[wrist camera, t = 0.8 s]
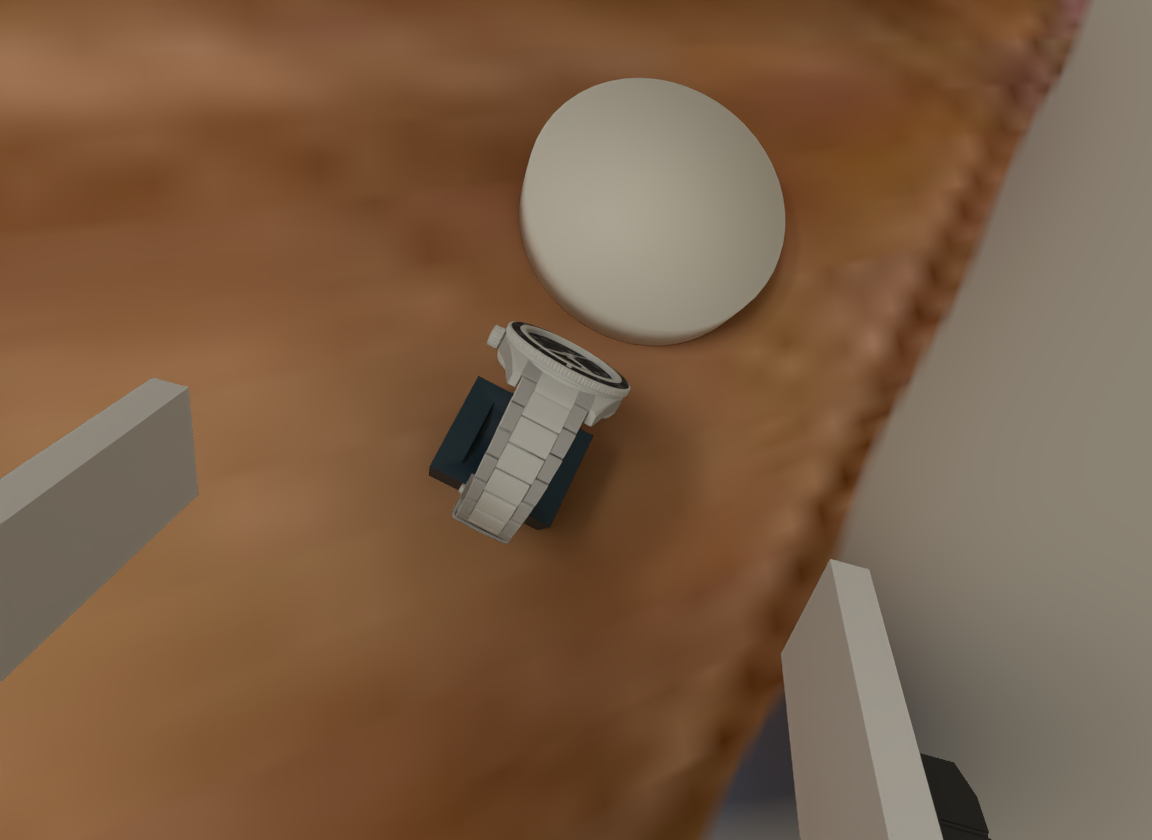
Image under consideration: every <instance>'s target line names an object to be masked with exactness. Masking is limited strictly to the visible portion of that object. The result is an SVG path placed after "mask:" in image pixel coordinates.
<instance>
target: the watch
mask: <svg viewBox="0 0 1152 840" xmlns="http://www.w3.org/2000/svg"><path fill="white" fill-rule="evenodd" d="M505 332H506V334H505ZM487 344H488V345H490V346H492V347H494V348H497V347H498V346H499V349H498V353H497V358H498V361H499V363H500V364H501V365H502V367H503V368H504V369H505V371H506V381H507V383H508V384H510V385H512V386H514V387H515V386H516V384H517V383H518V386H517V388H516V390H515V392H514V394H512V393H510V392H508V391H506V390H504V389H502V388H501V387H499V386H497V385H495V384H493V383H491V382H489V381H487V380H485V379H483V378H481V377H479V376H478V378H477V380H476V382H475V383H474V385H473V387H472V389H471V391H470V393H469V395H468V396H467V398H466V400H465V402H464V404H463V406H462V408H461V409H460V411H459V413H458V415H457V417H456V419H455V421H454V422H453V424H452V426H451V428H450V430H449V432H448V434H447V435H446V437H445V439H444V441H443V443H442V445H441V447H440V448H439V450H438V452H437V454H436V456H435V458H434V460H433V461H432V463H431V465H430V469H429V476H431V477H433V478H435V479H437V480H439V481H441V482H443V483H445V484H447V485H449V486H451V487H453V488H455V489H457V490H459V493H461V495H460V497H459V499H458V501H457V503H456V506H455V508H454V510H453V512H452V516H453V518H454V519H456V520H458V521H459V522H461V523H463V524H465V525H467V526H469V527H471V528H472V529H474V530H476V531H478V532H480V533H482V534H484V535H487V536H489V537H491V538H493V539H495V540H498V541H500V542H502V543H505V544H506V543H509V542H510V540H511V538H512V536H513V535H514V534H515V533H516V531H517V530H518V529H519V528H520V526H521V524H522V523H525V524H527V525H529V526H531V527H533V528H535V529H537V530H540V529H544V528H547V527H550V526H551V523H552V521H553V519H554V517H555V515H556V513H557V511H558V509H559V507H560V505H561V503H562V500H563V498H564V496H565V494H566V492H567V490H568V488H569V486H570V484H571V482H572V479H573V477H574V475H575V473H576V471H577V469H578V467H579V465H580V463H581V461H582V459H583V456H584V454H585V452H586V450H587V448H588V446H589V444H590V442H591V440H592V438H593V436H592V435H591V434H589V433H587V432H585V431H583V430H581V429H579V428H580V426H581V424H582V422H583V420H584V424H586V425H588V426H590V427H591V426H593V425H595V424H596V423H597V422H598V421H599V420H600V419H606V418H609V417H610V416H612V415H613V414H614V413H615V411H616V410H617V408H618V407H619V405H620V403H621V401H622V400H623V397H625V396H627V395H628V393H629V392H630V390H631V387H630V385H629V383H628V382H627V381H626V380H625V379H624V377H623V376H621V375H620V374H619V373H618V372H617V371H616V370H614V369H613V368H612V367H611V366H609V365H608V364H606V363H605V362H603V361H602V360H601V359H599V358H597V357H596V356H594V355H593V354H591V353H589V352H588V351H586V350H584V349H583V348H581V347H579V346H577V345H576V344H574V343H572V342H570V341H568V340H566V339H564V338H562V337H560V336H558V335H556V334H553V333H551V332H549V331H547V330H544V329H542V328H539V327H536V326H533V325H530V324H527V323H523V322H515V321H513V322H510V323H509V324H508V326H507V328H506V329H504V328H502V327H500V326H499V325H496V326H495V327H494V329H493V330H492V332H491V334H490V336H489V338H488V341H487ZM584 418H585V419H584Z"/></svg>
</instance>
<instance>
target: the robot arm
mask: <svg viewBox="0 0 1152 840" xmlns="http://www.w3.org/2000/svg"><path fill="white" fill-rule="evenodd" d="M197 495H198V486H197V475H196V464H195V453H194V442H193V431H192V419H191V408H190V397H189V387H186V386H182V385H178V384H174V383H171V382H167V381H163V380H159V379H156V378H151V379H150V380H148V381H147V382H145V383H144V384H142V385H141V386H139V387H138V388H136V389H135V390H133V391H132V392H130V393H129V394H127V395H126V396H124V397H123V398H121V399H120V400H118V401H117V402H115V403H114V404H112V405H111V406H109V407H108V408H106V409H105V410H103V411H102V412H100V413H99V414H97V415H96V416H94V417H93V418H91V419H90V420H88V421H87V422H85V423H84V424H82V425H81V426H79V427H77V428H76V429H74V430H73V431H71V432H70V433H68V434H67V435H65V436H64V437H62V438H61V439H59V440H58V441H56V442H55V443H53V444H52V445H50V446H49V447H47V448H46V449H44V450H43V451H41V452H40V453H38V454H37V455H35V456H34V457H32V458H31V459H29V460H28V461H26V462H25V463H23V464H22V465H20V466H19V467H17V468H16V469H14V470H13V471H11V472H10V473H8V474H7V475H5V476H4V477H2V478H1V479H0V682H1V681H2V680H3V679H5V678H6V677H7V676H8V675H9V674H10V673H11V672H12V671H13V670H14V669H15V668H16V667H17V666H18V665H19V664H20V663H21V662H22V661H24V660H25V659H26V658H27V657H28V656H29V655H30V654H31V653H32V652H33V651H34V650H35V649H36V648H37V647H38V646H39V645H40V644H41V643H42V642H44V641H45V640H46V639H47V638H48V637H49V636H50V635H51V634H52V633H53V632H54V631H55V630H56V629H57V628H58V627H59V626H60V625H61V624H62V623H64V622H65V621H66V620H67V619H68V618H69V617H70V616H71V615H72V614H73V613H74V612H75V611H76V610H77V609H78V608H79V607H80V606H81V605H82V604H84V603H85V602H86V601H87V600H88V599H89V598H90V597H91V596H92V595H93V594H94V593H95V592H96V591H97V590H98V589H99V588H100V587H101V586H103V585H104V584H105V583H106V582H107V581H108V580H109V579H110V578H111V577H112V576H113V575H114V574H115V573H116V572H117V571H118V570H119V569H120V568H121V567H123V566H124V565H125V564H126V563H127V562H128V561H129V560H130V559H131V558H132V557H133V556H134V555H135V554H136V553H137V552H138V551H139V550H140V549H141V548H143V547H144V546H145V545H146V544H147V543H148V542H149V541H150V540H151V539H152V538H153V537H154V536H155V535H156V534H157V533H158V532H159V531H160V530H162V529H163V528H164V527H165V526H166V525H167V524H168V523H169V522H170V521H171V520H172V519H173V518H174V517H175V516H176V515H177V514H178V513H179V512H180V511H182V510H183V509H184V508H185V507H186V506H187V505H188V504H189V503H190V502H191V501H192V500H193V499H194V498H195V497H196V496H197ZM781 659H782V668H783V678H784V688H785V698H786V706H787V717H788V727H789V736H790V746H791V756H792V765H793V775H794V785H795V795H796V804H797V814H798V824H799V834H800V840H991V839H989V838H988V833H989V831H988V828H987V826H986V823H985V820H984V816H983V814H982V810H981V808H980V804H979V801H978V798H977V796H976V795H975V793H974V792H973V790H972V789H971V787H970V786H969V784H968V783H967V781H966V780H965V778H964V777H963V775H962V774H961V773H960V771H959V769H958V768H957V766H956V765H955V764H954V763H953V762H950V761H946V760H943V759H939V758H935V757H932V756H928V755H925V754H921V753H919V750H918V746H917V742H916V739H915V735H914V731H913V728H912V724H911V721H910V717H909V713H908V709H907V706H906V702H905V699H904V695H903V691H902V688H901V684H900V680H899V677H898V673H897V669H896V666H895V662H894V659H893V655H892V651H891V648H890V644H889V640H888V637H887V633H886V629H885V626H884V622H883V618H882V615H881V611H880V607H879V604H878V600H877V596H876V593H875V589H874V585H873V582H872V578H871V575H870V571H869V569H866V568H862V567H858V566H854V565H851V564H847V563H843V562H840V561H836V560H832V559H830V560H829V562H828V564H827V566H826V568H825V570H824V572H823V574H822V576H821V578H820V580H819V582H818V583H817V585H816V587H815V589H814V591H813V593H812V595H811V597H810V599H809V601H808V603H807V605H806V607H805V609H804V611H803V612H802V614H801V616H800V618H799V620H798V622H797V624H796V626H795V628H794V630H793V632H792V634H791V636H790V638H789V639H788V641H787V643H786V645H785V647H784V649H783V651H782V653H781Z"/></svg>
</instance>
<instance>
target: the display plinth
mask: <svg viewBox="0 0 1152 840" xmlns="http://www.w3.org/2000/svg"><path fill="white" fill-rule="evenodd" d="M519 225H520V232H521V237H522V242H523V246H524V249H525V252H526V254H527V257H528V260H529V262H530V264H531V266H532V268H533V270H534V272H535V274H536V276H537V278H538V279H539V281H540V282H541V284H542V285H543V287H544V288H545V290H546V291H547V292H548V293H549V294H550V296H551V297H552V298H553V299H554V300H555V301H556V302H557V304H559V305H560V306H561V307H562V308H563V309H564V310H565V311H566V312H567V313H568V314H570V315H571V316H572V317H574V318H575V319H576V320H578V321H579V322H581V323H582V324H584V325H585V326H587V327H589V328H591V329H593V330H594V331H596V332H598V333H600V334H603V335H605V336H608V337H610V338H613V339H615V340H619V341H623V342H627V343H631V344H639V345H647V346H664V345H672V344H678V343H683V342H686V341H690V340H693V339H696V338H698V337H701V336H703V335H705V334H707V333H709V332H711V331H712V330H714V329H716V328H717V327H719V326H720V325H722V324H723V323H724V322H726V321H727V320H728V319H730V318H731V317H732V316H733V315H735V314H736V313H737V312H739V311H740V310H741V309H742V308H744V307H745V306H746V305H747V304H748V303H749V302H750V301H752V300H753V299H754V298H755V297H756V296H757V295H758V293H759V292H760V291H761V290H762V289H763V287H764V286H765V285H766V283H767V282H768V280H769V278H770V277H771V275H772V274H773V272H774V269H775V267H776V265H777V262H778V260H779V257H780V254H781V250H782V246H783V241H784V234H785V208H784V200H783V195H782V191H781V187H780V183H779V180H778V177H777V175H776V172H775V170H774V167H773V165H772V163H771V161H770V159H769V157H768V156H767V154H766V152H765V150H764V149H763V147H762V146H761V144H760V143H759V141H758V140H757V139H756V137H755V136H754V135H753V134H752V132H751V131H750V130H749V129H748V128H747V127H746V126H745V124H744V123H742V122H741V121H740V120H739V119H738V118H737V117H736V116H735V115H734V114H733V113H732V112H730V111H729V110H728V109H726V108H725V107H724V106H722V105H721V104H720V103H718V102H716V101H715V100H713V99H711V98H710V97H708V96H706V95H705V94H702V93H700V92H698V91H696V90H694V89H691V88H689V87H686V86H683V85H680V84H677V83H674V82H669V81H664V80H659V79H649V78H627V79H619V80H614V81H608V82H605V83H602V84H599V85H596V86H593V87H591V88H589V89H587V90H585V91H583V92H581V93H579V94H577V95H576V96H574V97H573V98H571V99H570V100H568V101H567V102H566V103H564V104H563V105H562V106H561V107H560V108H559V109H558V110H557V111H556V112H555V113H554V114H553V115H552V116H551V118H550V119H549V120H548V122H547V123H546V124H545V125H544V127H543V129H542V131H541V132H540V134H539V136H538V138H537V139H536V142H535V145H534V147H533V150H532V152H531V155H530V159H529V162H528V166H527V170H526V173H525V177H524V180H523V185H522V189H521V194H520V201H519Z"/></svg>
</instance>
